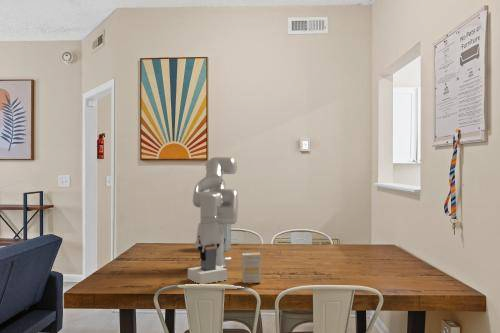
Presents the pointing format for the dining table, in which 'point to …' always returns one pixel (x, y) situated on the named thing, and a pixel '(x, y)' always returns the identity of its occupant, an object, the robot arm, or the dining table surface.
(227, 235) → the hard drive box
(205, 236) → the robot arm
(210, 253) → the grey cylinder
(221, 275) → the socket block
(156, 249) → the dining table surface
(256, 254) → the supplement box
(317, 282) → the dining table surface
